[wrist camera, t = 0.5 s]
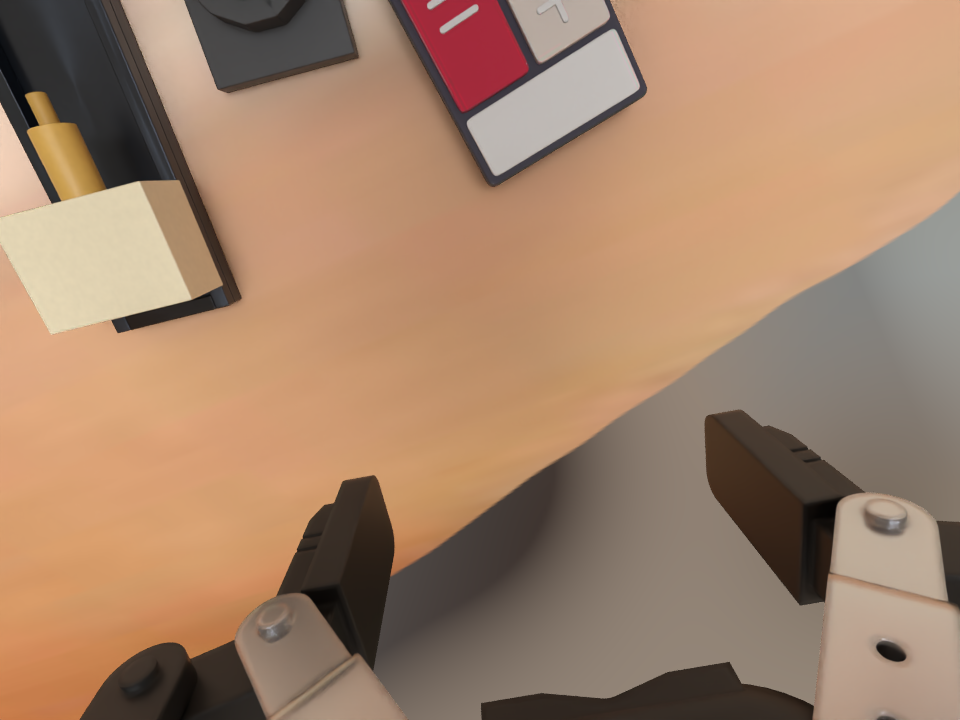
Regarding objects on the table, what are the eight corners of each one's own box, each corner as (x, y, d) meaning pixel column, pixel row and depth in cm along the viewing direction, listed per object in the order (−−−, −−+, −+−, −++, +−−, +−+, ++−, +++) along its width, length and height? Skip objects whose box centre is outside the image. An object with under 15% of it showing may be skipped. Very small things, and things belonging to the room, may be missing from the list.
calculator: (534, -193, 26) (654, 90, 30) (526, -140, 30) (633, 103, 34) (355, -65, 28) (492, 188, 32) (371, -31, 32) (490, 189, 36)
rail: (-115, -184, 28) (-161, -212, 26) (26, -227, 28) (-9, -259, 26) (135, 324, 39) (117, 333, 36) (241, 298, 38) (229, 305, 36)
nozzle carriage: (13, 120, 32) (-76, 110, 27) (150, 83, 32) (87, 65, 27) (110, 311, 37) (50, 335, 31) (231, 281, 36) (192, 299, 31)
